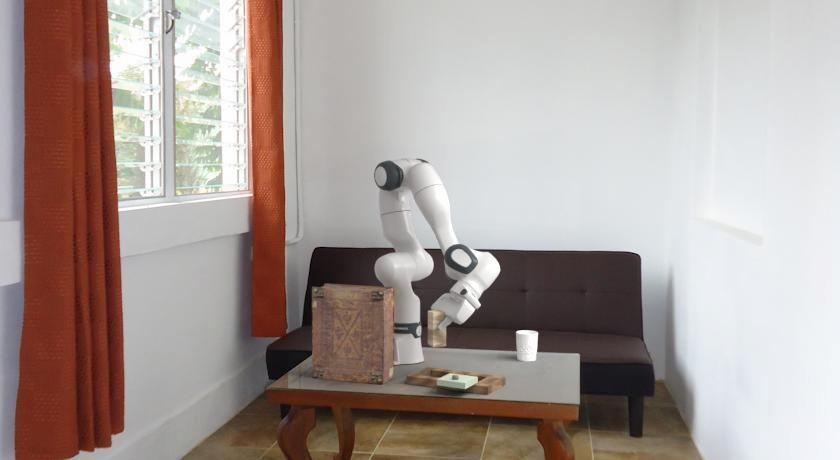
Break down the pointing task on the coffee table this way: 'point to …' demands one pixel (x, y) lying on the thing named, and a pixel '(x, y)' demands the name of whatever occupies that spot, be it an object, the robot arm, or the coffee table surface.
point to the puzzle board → (431, 375)
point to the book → (353, 333)
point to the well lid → (457, 381)
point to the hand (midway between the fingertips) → (435, 327)
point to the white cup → (526, 345)
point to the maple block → (434, 334)
